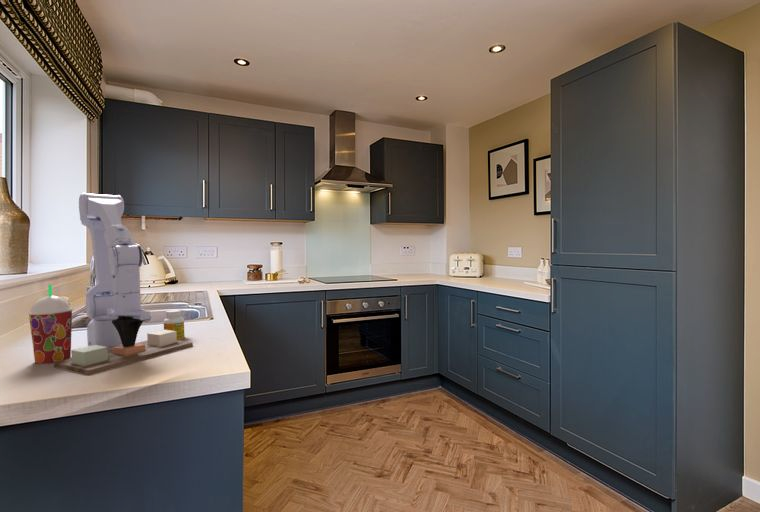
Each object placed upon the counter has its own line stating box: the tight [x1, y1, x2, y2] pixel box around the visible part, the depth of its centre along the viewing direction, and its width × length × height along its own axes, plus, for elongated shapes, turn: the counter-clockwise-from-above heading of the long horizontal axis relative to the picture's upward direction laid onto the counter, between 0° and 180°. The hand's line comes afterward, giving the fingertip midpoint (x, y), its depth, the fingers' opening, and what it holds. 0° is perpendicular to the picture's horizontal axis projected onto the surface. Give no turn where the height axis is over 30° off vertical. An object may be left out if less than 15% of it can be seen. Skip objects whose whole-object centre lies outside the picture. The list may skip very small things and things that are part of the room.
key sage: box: [71, 345, 109, 366], centre depth 93 cm, size 5×5×4 cm
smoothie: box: [27, 284, 74, 365], centre depth 98 cm, size 8×8×20 cm
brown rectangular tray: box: [53, 339, 194, 376], centre depth 101 cm, size 14×26×2 cm, turn 154°
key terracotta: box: [112, 342, 145, 356], centre depth 101 cm, size 5×5×4 cm
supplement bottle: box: [163, 309, 185, 341], centre depth 119 cm, size 5×5×10 cm
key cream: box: [146, 329, 177, 347], centre depth 109 cm, size 5×5×4 cm
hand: (129, 346), depth 101 cm, fingers closed, pressing on key terracotta
